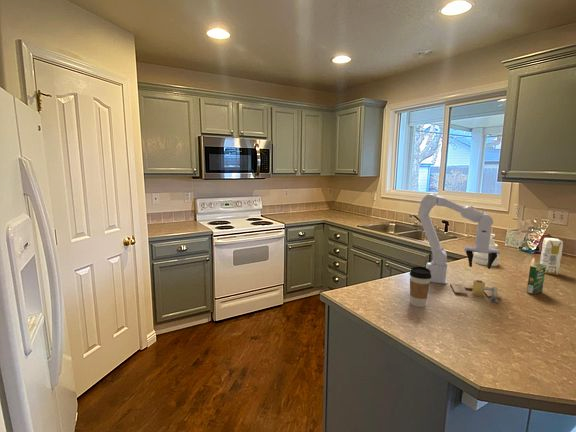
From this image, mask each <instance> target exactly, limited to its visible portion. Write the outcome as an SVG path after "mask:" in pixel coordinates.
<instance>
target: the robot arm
mask: <svg viewBox="0 0 576 432" xmlns="http://www.w3.org/2000/svg"><path fill="white" fill-rule="evenodd" d="M435 206H436V207H446V208H448V209H450V210H453V211H455V212H457V213H460V215H461V217H462V218H465V219H467V220H468V221H471V222H473V223H477V228H476V234H475V243H474V246H464V247H463V251H464V252H465V254H466V256H467V260H468V266H469V268H473V260H474V253H475V252H480V253H488V264H487V265H486V268H487V270H490V269H491V267H492V266H491V265H492V263H493V261H494V260H495V259H496V258H497V254H498V255H500V253H501V249H499V248H498V249H490V248H489V243H490V235H491V234H492V230H491V229H492V225H493V223H494V220H493V217H492V216H491V215H490V214H488V213H487V212H485V211H483V210H479V209H476V208H474V206H473V205H466V206H463V205H462V204H461V205H460V204H459V203H456V202H455V201H452V200H450V199H448V198H446V197H443V196H441V195H436V194H435V193H428V194H426V195H424V196H423V198H422V199H421V201H420V203H419V207H418V212H417V215H418V218H419V221H420V223H421V226H422V227H423V232H424V234H425V236H426V238H427V240H428V243H429V247H430V250H431V253H432V254H431V255H432V260H431V262H430V261H429V262H426V265H425V268H428V269H429V270H430V271H431V277H432V278H430V283H438V284H446V285H448V281H447V271H448V270H447V269H448V262H447V260H448V259H447V257H448V253H447V251H446V250H445V249H444V248H443V246H442V244H441V241H440V240H439V236H438V234H437V232H436V229H435V227H434V224H433V222H432V218H431V217H430V216H431V215H430V212H431V211H432V209H433V208H434V207H435Z"/></svg>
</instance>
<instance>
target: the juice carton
mask: <svg viewBox="0 0 576 432" xmlns="http://www.w3.org/2000/svg"><path fill="white" fill-rule="evenodd" d="M563 249H564V241H563V240H561V239H559V238H553V237H544V238H543V241H542V245H541V252H540V253H541V254H540V258H539V264H542V265H546V269H545V275H546V274H547V275H548V274H549V275H554V276H557V275H559V271H560V267H561V261H562V254H563Z"/></svg>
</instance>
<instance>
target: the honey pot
mask: <svg viewBox="0 0 576 432" xmlns="http://www.w3.org/2000/svg"><path fill="white" fill-rule="evenodd" d="M495 236H496V234H494V233H491V235H490V243H489V248H490V249H497V247H498V246H499V244H497V243H495V240H494V239H493V238H495ZM473 254H474V255H473V259H472V262H474V263H475V264H478V265H481V266H487V264H488V253H480V252H473ZM499 255H500V254H497V258H496V259H495V260H494V261H493V263H492V265H491V267H496V266H498V265H499V259H500V256H499Z"/></svg>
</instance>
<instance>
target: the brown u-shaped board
mask: <svg viewBox="0 0 576 432" xmlns="http://www.w3.org/2000/svg"><path fill="white" fill-rule="evenodd" d="M450 288H451V290H452V291H453V293H454V295H456V296H462V297H468V294H469V293H468V292H467V291H471V292H472V290H473V284H472V285H471V284H464V283H463V284H462V283H454V282H450ZM484 296H485V297H486V298H487V299H488V298H492V291H491V290H484ZM496 299H497V300H498V301H502V297H501V296H500V293H498V292H497V294H496Z"/></svg>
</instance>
